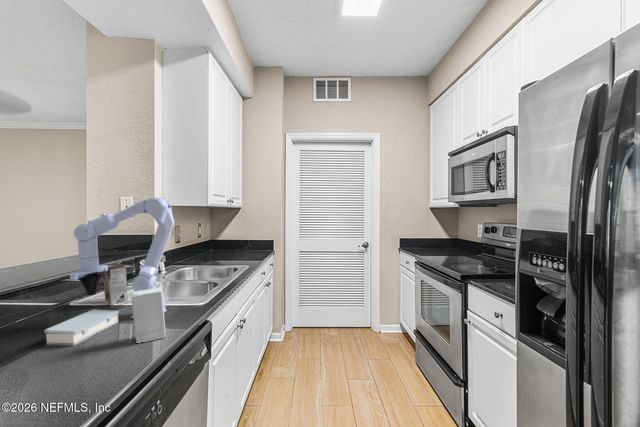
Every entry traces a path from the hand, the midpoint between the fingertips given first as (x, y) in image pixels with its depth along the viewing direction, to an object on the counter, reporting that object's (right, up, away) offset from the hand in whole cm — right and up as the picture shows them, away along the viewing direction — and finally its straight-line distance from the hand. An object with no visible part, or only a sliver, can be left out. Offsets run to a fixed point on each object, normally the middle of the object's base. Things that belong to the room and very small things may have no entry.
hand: (91, 294), depth 118 cm
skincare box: (+30, -9, -17) cm, 36 cm away
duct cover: (+6, -6, -11) cm, 14 cm away
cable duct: (+6, -10, -11) cm, 16 cm away
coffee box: (-4, -9, +21) cm, 23 cm away
